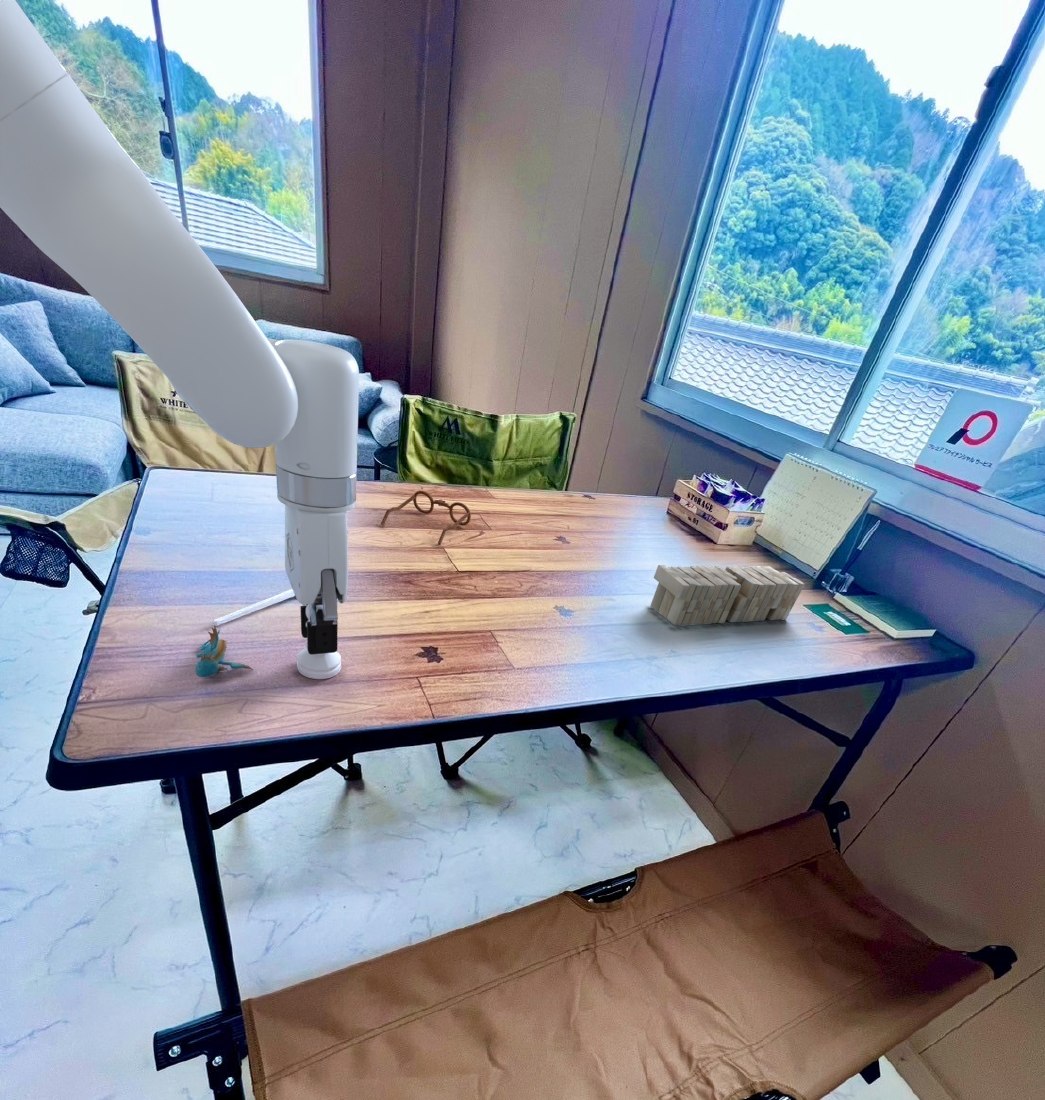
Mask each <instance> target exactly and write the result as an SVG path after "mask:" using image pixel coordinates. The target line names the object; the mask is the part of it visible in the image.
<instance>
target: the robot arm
mask: <svg viewBox="0 0 1045 1100" xmlns="http://www.w3.org/2000/svg"><path fill="white" fill-rule="evenodd" d="M53 52H54V51H52V50H51V48H50V47H49V46H48V44H47V42H46V41H45V40H44V38H43V37H42V36H41V34H40V32H39V31H38V30H37V28H36V27H35V26H34V24H33V23H32V22H31V20H30V19H29V17H28V16H27V15H26V13H25V11H23V9H22V7H21V6H20V4H19V3H18V2H17V0H0V209H1V210H2V211H3V212H4V213H5V215H7V217H9V219H10V220H11V221H12V222H13V223H14V224H15V225H16V226H17V227H18V229H20V230H21V231H22V232H23V233H24V234H25V235H26V237H27V238H28V239H29V240H30V241H31V242H32V243H33V244H34V245H35V246H36V247H37V248H38V249H39V250H40V251H41V252H42V253H43V254H44V255H46V256H47V257H48V258H49V259H50V260H51V261H53V262H54V264H56V265H57V266H58V267H60V268H61V270H63V271H64V272H65V273H67V274H68V275H69V276H70V277H71V278H72V279H73V280H74V281H75V282H76V283H78V285H80V286H81V287H82V288H83V289H84V290H85V291H86V292H87V293H88V294H89V295H90V296H91V297H92V298H93V299H94V300H95V301H96V302H97V303H98V304H99V305H100V306H101V307H102V308H103V309H104V310H105V312H106V313H108V314H109V315H110V316H111V318H112V319H113V320H114V321H115V322H116V323H117V324H118V325H119V326H120V327H121V329H123V331H124V332H125V333H126V334H127V335H128V336H129V337H130V338H131V339H132V340H133V341H134V343H136V345H137V346H138V347H139V349H141V350H142V352H143V353H144V354H145V355H146V356H147V357H148V358H149V359H150V360H151V362H152V363H153V364H154V365H155V366H156V367H157V368H158V369H159V370H160V372H161V373H163V375H165V377H166V378H167V379H168V381H169V382H170V384H171V386H172V388H173V389H174V391H175V392H176V394H177V395H178V397H179V398H180V399H181V400H182V402H184V404H186V406H187V407H188V408H190V410H191V411H192V412H193V413H195V415H197V416H198V417H199V418H200V419H201V420H202V421H203V422H204V423H205V424H206V425H207V426H208V427H209V428H210V429H211V430H212V431H213V432H214V433H215V434H217V435H218V436H219V437H221V438H222V439H223V440H225V441H227V442H229V443H231V444H234V445H235V446H239V447H242V448H247V449H263V448H269V447H271V446H274V453H275V454H274V455H275V474H276V475H275V476H276V477H275V478H276V497H277V499H278V501H279V502H280V503H281V504H283V505H284V568H285V573H286V576H287V579H288V582H289V584H290V586H291V589H293V591H294V594H295V596H294V597H295V598H296V600H297V602H298V603H299V604H301V605H300V607H299V608H300V634H301V636H302V638H304V639H306V640H307V641H306V643H307V646H308V652H309V654H311V655H313V654H324V653H334V652H336V651H337V652H338V628H339V627H338V626H339V625H338V623H339V622H338V620H339V614H338V602H339V604H343V603H345V602H346V601H347V598H348V592H349V536H348V534H349V530H348V513H347V512H348V511H351V510H353V509H354V508H356V506H357V483H358V482H357V481H358V479H357V478H358V474H357V473H358V472H357V470H358V464H357V463H358V436H359V435H358V433H359V431H358V430H359V403H360V402H359V401H360V396H359V394H360V369H359V365H358V363H357V360H356V358H355V357H354V356H353V354H352V353H350V352H348V351H347V350H345V349H343V348H340V347H339V346H338V347H337V346H335V345H331V344H327V343H323V342H319V341H318V342H317V341H313V340H307V339H293V338H292V339H289V338H287V339H283V340H279V339H273V338H270V337H267V336H266V334H265V333H264V331H263V330H262V329H261V327H260V326H259V324H258V323H257V322H256V320H255V318H254V317H253V316H252V315H251V313H250V312H249V311H248V309H247V308H246V306H245V305H244V303H243V302H242V301H241V299H240V298H239V296H238V295H237V293H236V292H235V291H234V290H233V288H232V286H231V285H230V284H229V283H228V281H227V279H226V278H225V277H224V276H223V275H222V274H221V272H220V271H219V269H218V268H217V267H216V266H215V264H214V263H213V261H212V260H211V259H210V257H209V256H208V255H207V253H206V252H205V251H204V250H203V249H202V248H201V246H200V245H199V244H198V243H197V241H196V240H195V239H194V237H193V236H192V235H191V234H190V232H189V231H188V229H187V228H186V227H185V226H184V225H183V223H181V220H179V219H178V217H177V216H176V215H175V214H174V212H173V211H172V210H171V209H170V207H169V206H168V204H167V203H166V202H165V201H164V200H163V198H162V196H161V195H160V194H159V192H158V191H157V190H156V188H155V187H154V186H153V184H152V183H151V181H150V180H149V179H148V177H147V176H146V175H145V174H144V173H143V171H142V170H141V168H140V167H139V166H138V165H137V164H136V162H135V161H134V160H133V159H132V157H131V156H130V155H129V154H128V152H127V151H126V150H125V149H124V148H123V146H122V145H121V144H120V142H119V141H118V140H117V138H116V137H115V135H114V134H113V133H112V132H111V130H110V129H109V128H108V126H107V125H106V124H105V122H104V121H103V120H102V118H101V117H100V115H99V114H98V113H97V111H96V110H95V108H94V107H93V106H92V104H91V102H89V100H88V99H87V97H86V96H85V95H84V93H83V92H82V90H80V88H79V86H78V85H77V83H76V82H75V81H74V80H73V78H72V76H71V75H70V74H69V73H68V72H67V70H66V69H65V68H64V67H63V64H61V62H60V61H59V59H58V58H57V56H56V55H55V53H53ZM308 604H309V613H310V622H307V621H308V620H309V619H308V618H307V616H306V607H307V605H308ZM316 605H323V608H322V609H318V610H317V612H316ZM306 622H307V627H306Z"/></svg>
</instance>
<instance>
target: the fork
mask: <svg viewBox="0 0 1045 1100" xmlns="http://www.w3.org/2000/svg"><path fill="white" fill-rule="evenodd" d="M294 597H296V596H295V594H294V591H293V589H292V588H291V589H288V590H286V591H283V592H281V593H278V594H276V595H273V596H271V597H268V598H265V599H263V600H261V601H258V602H255V603H253V604H251V605H248V606H246V607H242V608H241V609H238V610H236V611H235V610H234V611H233V612H230V613H228V614H226V615H222V616H220V617H218V618H216V619H213V621H212V625H213V626H215V627H218V626H220V625H223V624H225V623H227V622H228V623H229V622H230V621H233V620H235V619H238V618H241V617H244V616H246V615H250V614H251V613H254V612H256V611H259V610H262V609H264V608H267V607H269V606H272V605H274V604H277V603H280V602H283V601H285V600H288V599H289V598H294Z"/></svg>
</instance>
